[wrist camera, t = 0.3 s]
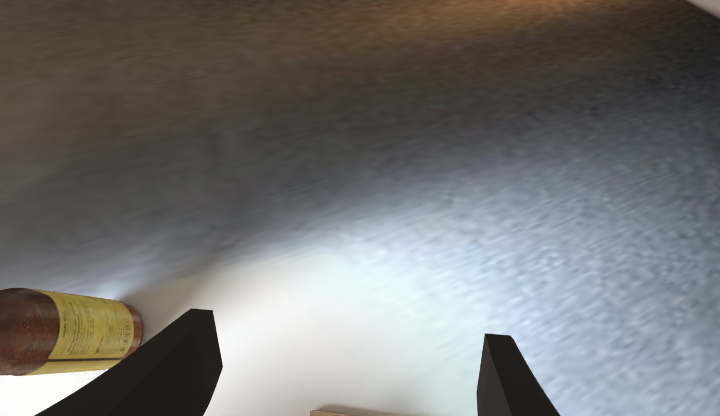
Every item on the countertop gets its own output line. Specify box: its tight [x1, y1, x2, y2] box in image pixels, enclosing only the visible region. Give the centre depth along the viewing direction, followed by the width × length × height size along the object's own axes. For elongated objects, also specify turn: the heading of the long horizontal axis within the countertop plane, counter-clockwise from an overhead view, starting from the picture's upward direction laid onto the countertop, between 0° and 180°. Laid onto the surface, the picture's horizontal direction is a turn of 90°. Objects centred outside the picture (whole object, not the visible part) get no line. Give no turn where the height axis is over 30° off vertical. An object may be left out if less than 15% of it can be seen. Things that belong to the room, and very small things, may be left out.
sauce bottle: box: [0, 288, 143, 376], centre depth 36 cm, size 7×6×20 cm
